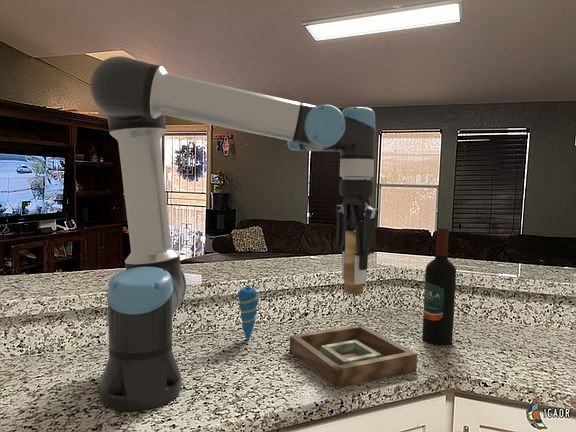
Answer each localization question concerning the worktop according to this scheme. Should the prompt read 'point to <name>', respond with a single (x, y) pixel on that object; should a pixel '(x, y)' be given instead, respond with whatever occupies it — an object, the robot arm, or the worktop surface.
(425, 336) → the wine bottle
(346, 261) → the peg
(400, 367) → the box
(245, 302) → the ornament
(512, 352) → the worktop surface
